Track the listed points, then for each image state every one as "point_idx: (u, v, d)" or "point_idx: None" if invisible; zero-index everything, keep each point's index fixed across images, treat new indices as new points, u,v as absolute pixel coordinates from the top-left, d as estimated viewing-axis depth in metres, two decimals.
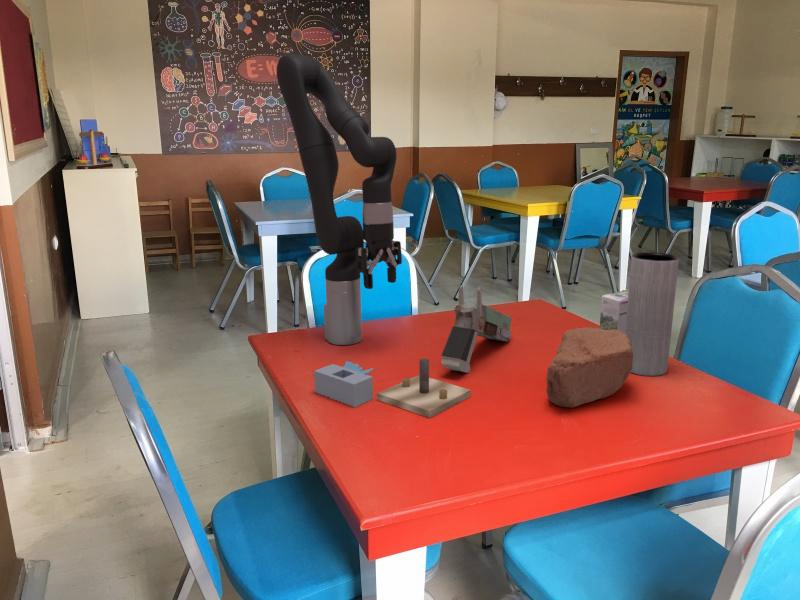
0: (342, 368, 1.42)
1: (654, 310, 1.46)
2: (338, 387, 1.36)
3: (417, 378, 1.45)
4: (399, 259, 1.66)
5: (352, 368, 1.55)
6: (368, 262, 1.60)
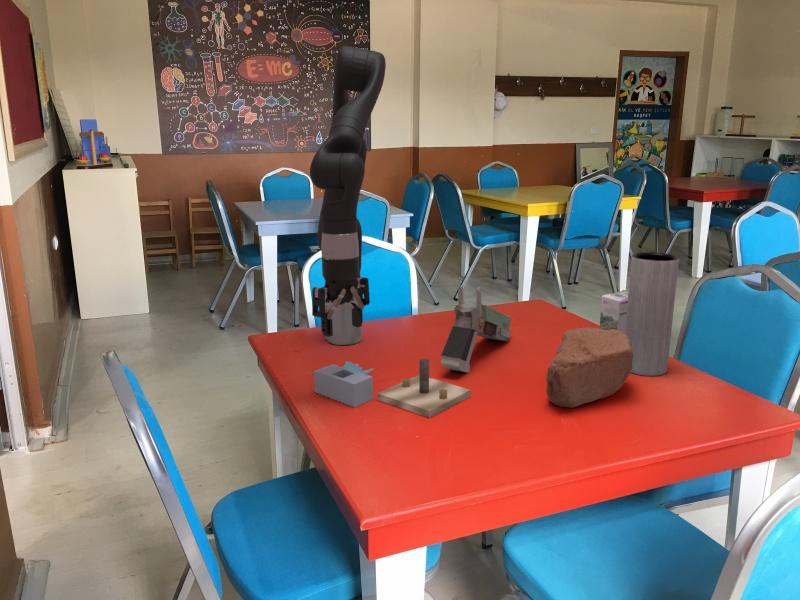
0: (342, 368, 1.42)
1: (654, 310, 1.46)
2: (338, 387, 1.36)
3: (417, 378, 1.45)
4: (366, 299, 1.38)
5: (352, 368, 1.55)
6: (327, 304, 1.32)
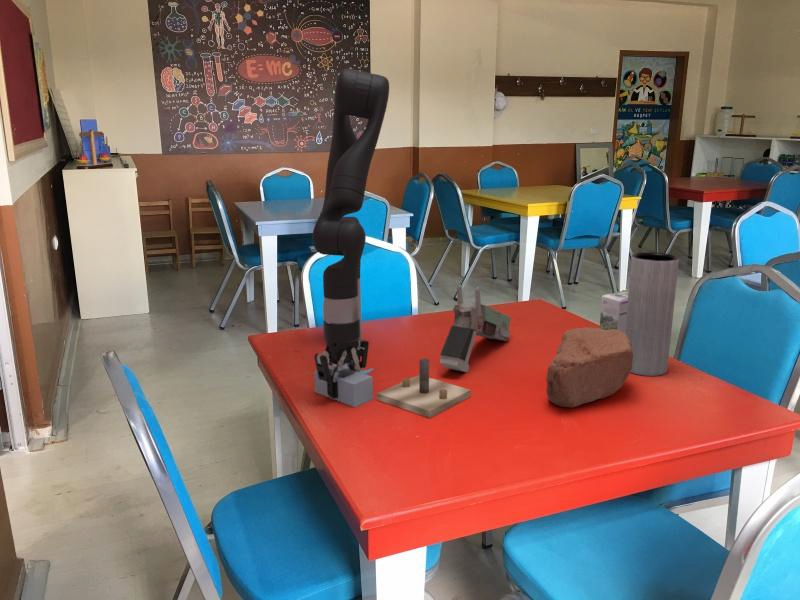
0: (342, 368, 1.42)
1: (654, 310, 1.46)
2: (338, 387, 1.36)
3: (417, 378, 1.45)
4: (363, 362, 1.41)
5: None
6: (331, 368, 1.36)
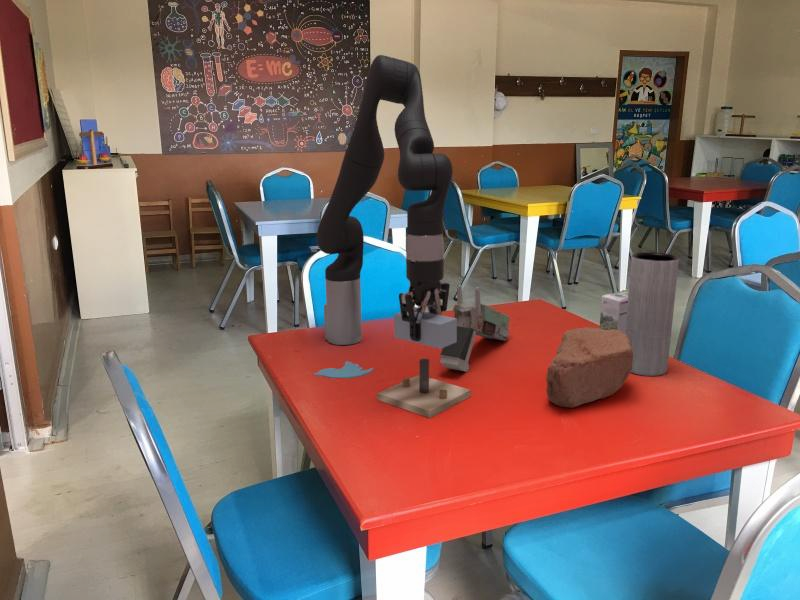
0: None
1: (654, 310, 1.46)
2: (421, 329, 1.31)
3: (417, 378, 1.45)
4: (444, 305, 1.36)
5: (352, 368, 1.55)
6: (414, 309, 1.31)
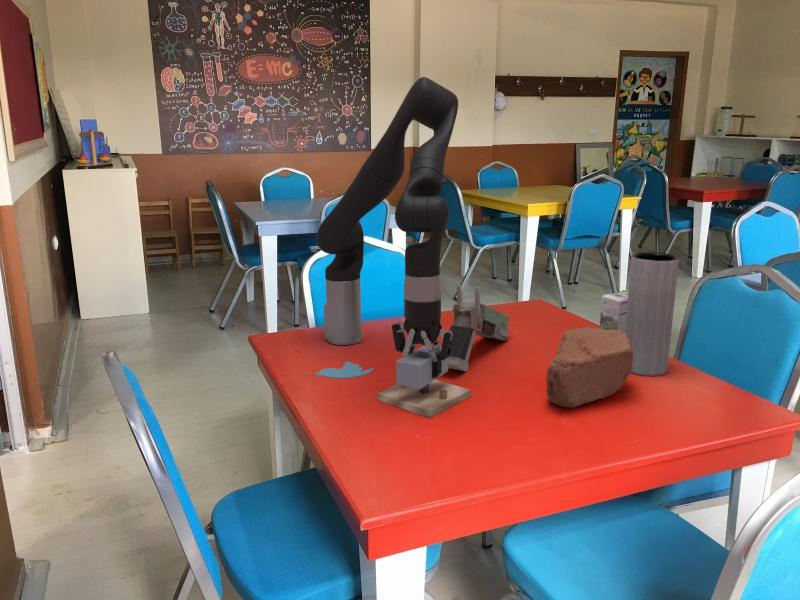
0: None
1: (654, 310, 1.46)
2: None
3: None
4: (441, 353, 1.32)
5: (352, 368, 1.55)
6: None
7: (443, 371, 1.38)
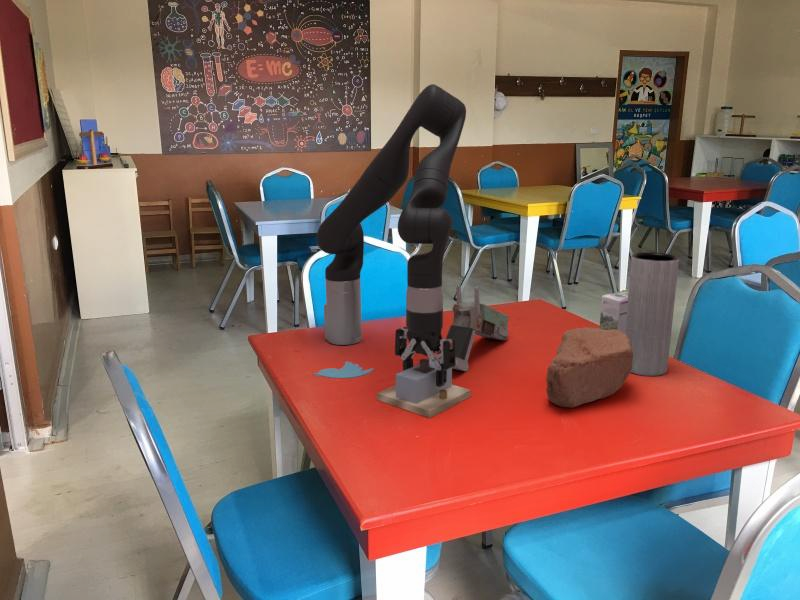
0: None
1: (654, 310, 1.46)
2: None
3: None
4: (445, 363, 1.31)
5: (352, 368, 1.55)
6: None
7: (446, 387, 1.39)
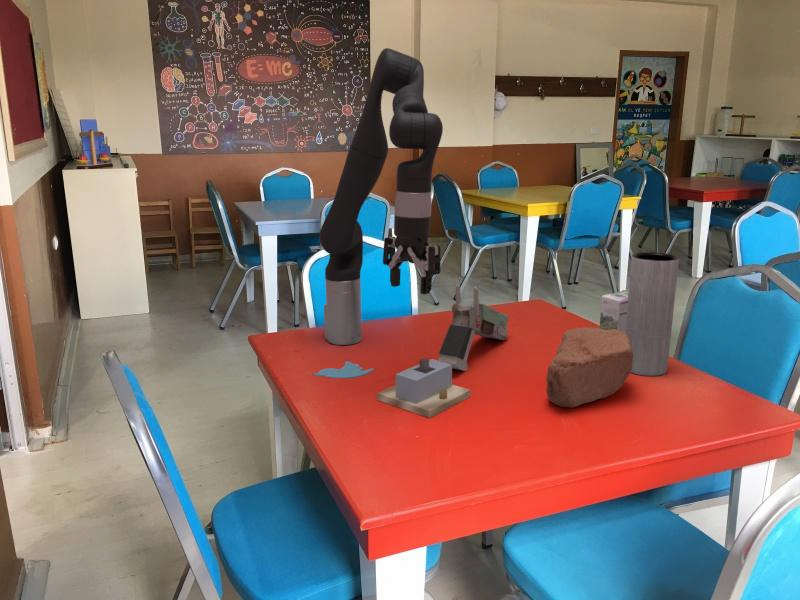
0: (439, 368, 1.37)
1: (654, 310, 1.46)
2: None
3: None
4: (429, 269, 1.32)
5: (352, 368, 1.55)
6: None
7: (446, 387, 1.39)
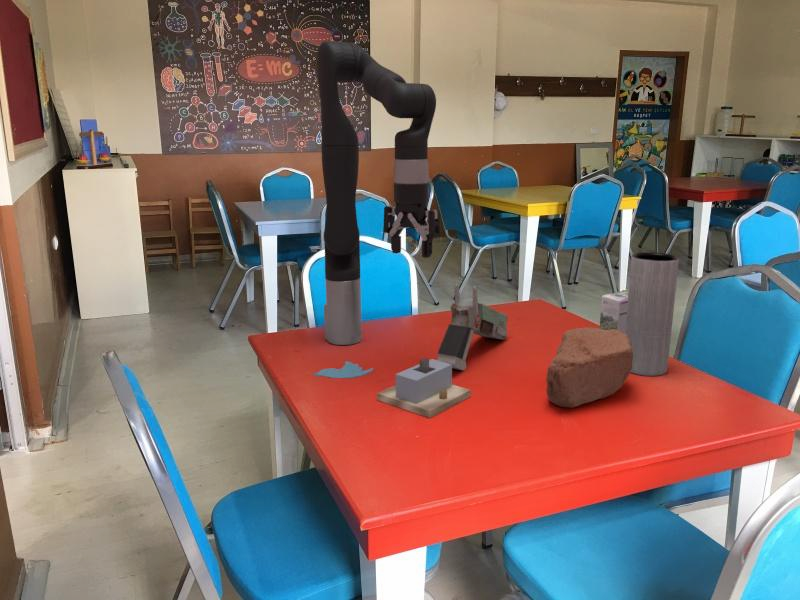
0: (439, 368, 1.37)
1: (654, 310, 1.46)
2: None
3: None
4: (430, 232, 1.38)
5: (352, 368, 1.55)
6: None
7: (446, 387, 1.39)
